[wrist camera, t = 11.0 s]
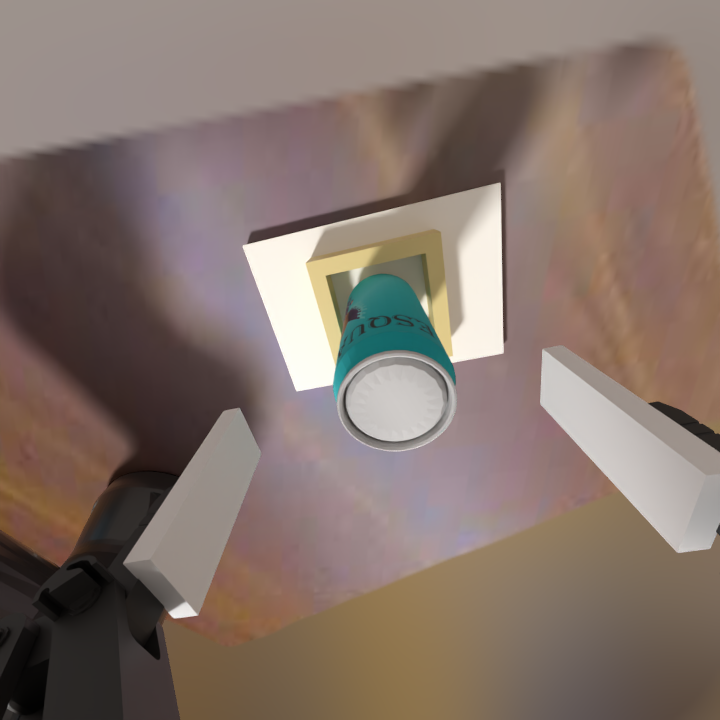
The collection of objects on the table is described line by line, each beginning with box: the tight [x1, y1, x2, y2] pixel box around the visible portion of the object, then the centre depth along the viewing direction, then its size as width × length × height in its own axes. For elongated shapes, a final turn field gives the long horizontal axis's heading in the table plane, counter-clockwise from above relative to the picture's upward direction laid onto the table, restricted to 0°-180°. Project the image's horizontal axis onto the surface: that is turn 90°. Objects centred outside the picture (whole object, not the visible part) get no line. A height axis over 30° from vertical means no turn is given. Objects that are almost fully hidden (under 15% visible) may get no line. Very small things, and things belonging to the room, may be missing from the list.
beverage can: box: [333, 274, 457, 451], centre depth 20 cm, size 6×6×15 cm
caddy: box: [243, 183, 503, 391], centre depth 26 cm, size 20×14×4 cm
